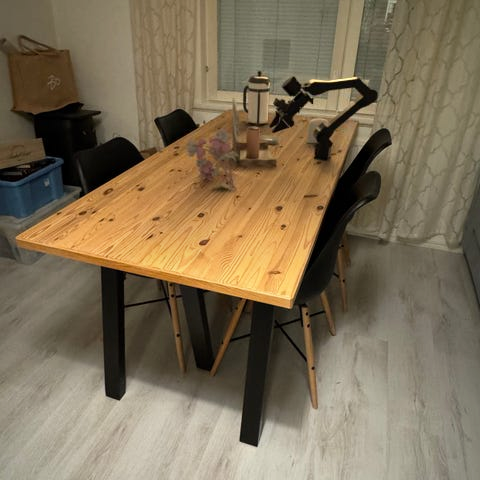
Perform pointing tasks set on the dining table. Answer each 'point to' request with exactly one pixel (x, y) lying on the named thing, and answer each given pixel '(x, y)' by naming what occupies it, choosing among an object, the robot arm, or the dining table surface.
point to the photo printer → (312, 127)
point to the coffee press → (257, 99)
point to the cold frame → (240, 147)
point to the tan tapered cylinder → (253, 142)
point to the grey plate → (269, 139)
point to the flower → (219, 152)
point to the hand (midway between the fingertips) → (271, 129)
